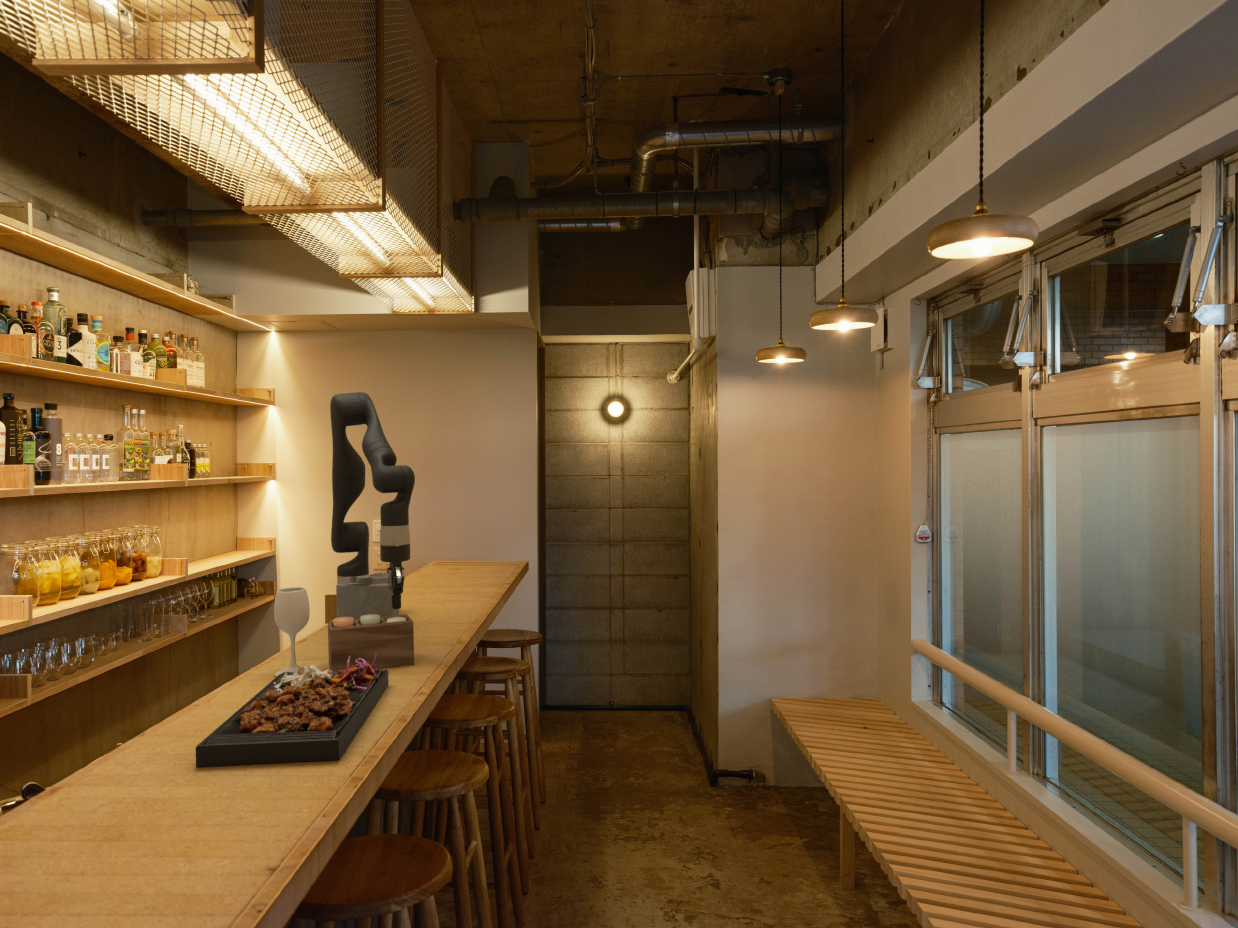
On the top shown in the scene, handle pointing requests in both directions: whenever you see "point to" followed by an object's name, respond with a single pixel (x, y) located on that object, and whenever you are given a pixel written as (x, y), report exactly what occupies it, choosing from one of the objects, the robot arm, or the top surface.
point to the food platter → (297, 718)
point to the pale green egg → (370, 619)
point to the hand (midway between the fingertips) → (396, 608)
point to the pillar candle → (381, 579)
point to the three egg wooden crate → (372, 643)
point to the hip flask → (363, 599)
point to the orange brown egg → (343, 622)
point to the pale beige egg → (396, 619)
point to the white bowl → (291, 617)
